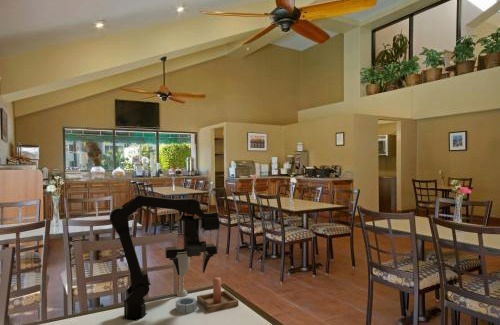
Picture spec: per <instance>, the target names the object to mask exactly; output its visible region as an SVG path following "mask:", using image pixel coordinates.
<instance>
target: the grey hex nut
mask: <svg viewBox="0 0 500 325" xmlns="http://www.w3.org/2000/svg"><path fill="white" fill-rule="evenodd" d="M197 308H198V301H197V298H195V297H188V296H185V297H180V298H178V299H177V300H176V301H175V311H176V312H177V313H178V314H184V315H185V314H191V313H194V312H195V311H196V310H197Z"/></svg>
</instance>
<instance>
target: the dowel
mask: <svg viewBox="0 0 500 325" xmlns="http://www.w3.org/2000/svg"><path fill="white" fill-rule="evenodd" d="M212 284H213V285H212V287H213V288H212V289H213V291H212V293H213V303H215V304H219V303H221V291H222V278H221V277H219V276H218V277H213V278H212Z"/></svg>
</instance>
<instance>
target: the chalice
mask: <svg viewBox="0 0 500 325" xmlns="http://www.w3.org/2000/svg"><path fill="white" fill-rule="evenodd" d="M177 257H178V264H179V276H180V279H179V280H180V284H179V285H180V289H179V290H178V291H177V293H176V297H178V298H186V297H188V295H189V293H188V290H186V289H185V287H184V285H185V283H184V281H185V277H184V276H185V275H186V274H187V272H188V269H189V268H190V264H191V257H188V256H187V254H177ZM173 264H174V263H173ZM174 268H175V269H176V267H175V264H174Z"/></svg>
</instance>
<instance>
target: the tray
mask: <svg viewBox="0 0 500 325" xmlns="http://www.w3.org/2000/svg"><path fill="white" fill-rule="evenodd" d="M196 300H197V303H199V305H200V306H202V308H203V309H204V310H205V311H206V312H207V314H208V313H213V312H218V311H223V310H226V309H230V308H234V307H235V308H236V307H239V300H238V299H237V298H236V297H235V296H233V295H232V294H230V293H229V292H228V291H227V290H221V303H219V304H215V303H213V292H211V293H210V292H209V293H207V294H206V293H205V294H200V295H197V296H196Z"/></svg>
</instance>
